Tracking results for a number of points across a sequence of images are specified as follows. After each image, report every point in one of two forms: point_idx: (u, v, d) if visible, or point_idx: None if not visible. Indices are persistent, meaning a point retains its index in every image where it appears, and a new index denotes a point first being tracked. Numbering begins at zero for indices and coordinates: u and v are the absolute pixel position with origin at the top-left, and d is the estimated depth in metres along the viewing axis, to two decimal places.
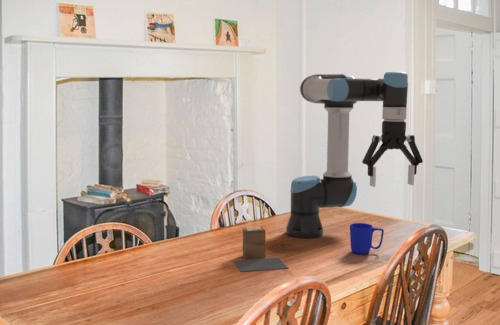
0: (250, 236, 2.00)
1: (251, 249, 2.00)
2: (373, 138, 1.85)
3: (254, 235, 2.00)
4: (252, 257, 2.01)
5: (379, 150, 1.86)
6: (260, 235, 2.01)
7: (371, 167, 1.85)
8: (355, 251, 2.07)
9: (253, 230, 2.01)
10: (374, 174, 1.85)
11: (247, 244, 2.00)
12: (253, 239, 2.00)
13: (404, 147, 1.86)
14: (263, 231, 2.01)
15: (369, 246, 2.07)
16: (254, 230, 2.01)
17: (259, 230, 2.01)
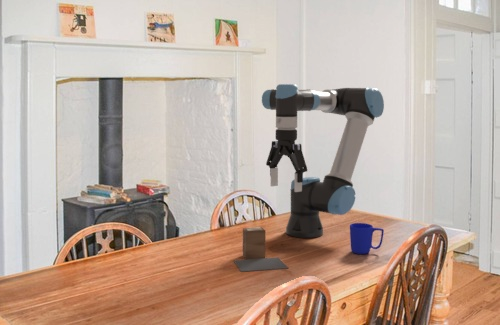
0: (250, 236, 2.00)
1: (251, 249, 2.00)
2: None
3: (254, 235, 2.00)
4: (252, 257, 2.01)
5: None
6: (260, 235, 2.01)
7: (271, 168, 2.08)
8: (355, 251, 2.07)
9: (253, 230, 2.01)
10: (271, 175, 2.08)
11: (247, 244, 2.00)
12: (253, 239, 2.00)
13: (287, 154, 1.98)
14: (263, 231, 2.01)
15: (369, 246, 2.07)
16: (254, 230, 2.01)
17: (259, 230, 2.01)
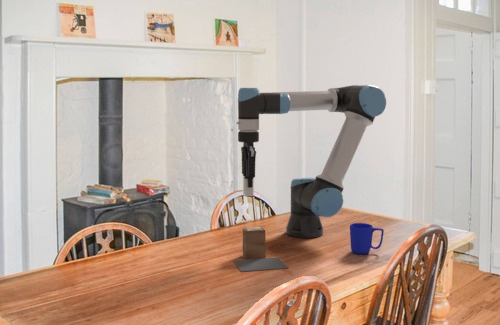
0: (250, 236, 2.00)
1: (251, 249, 2.00)
2: None
3: (254, 235, 2.00)
4: (252, 257, 2.01)
5: None
6: (260, 235, 2.01)
7: (245, 177, 2.11)
8: (355, 251, 2.07)
9: (253, 230, 2.01)
10: (243, 183, 2.11)
11: (247, 244, 2.00)
12: (253, 239, 2.00)
13: (244, 157, 2.06)
14: (263, 231, 2.01)
15: (369, 246, 2.07)
16: (254, 230, 2.01)
17: (259, 230, 2.01)
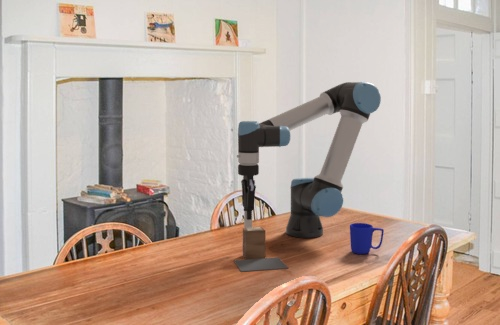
0: (250, 236, 2.00)
1: (251, 249, 2.00)
2: None
3: (254, 235, 2.00)
4: (252, 257, 2.01)
5: None
6: (260, 235, 2.01)
7: None
8: (355, 251, 2.07)
9: (253, 230, 2.01)
10: (244, 216, 2.11)
11: (247, 244, 2.00)
12: (253, 239, 2.00)
13: (244, 190, 2.08)
14: (263, 231, 2.01)
15: (369, 246, 2.07)
16: (254, 230, 2.01)
17: (259, 230, 2.01)
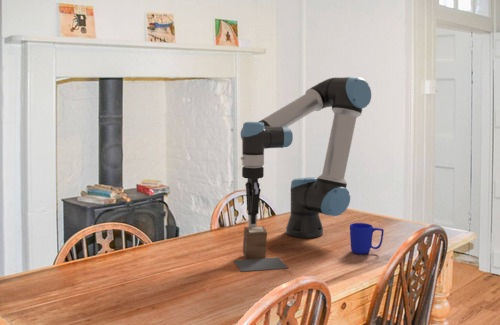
0: (251, 238, 1.98)
1: (251, 250, 2.00)
2: None
3: (255, 237, 1.98)
4: (252, 257, 2.01)
5: None
6: (261, 237, 1.99)
7: None
8: (355, 251, 2.07)
9: (255, 232, 1.98)
10: (248, 221, 2.04)
11: (248, 245, 1.99)
12: (254, 241, 1.99)
13: (248, 193, 2.01)
14: (265, 233, 1.99)
15: (369, 246, 2.07)
16: (256, 232, 1.98)
17: (261, 232, 1.99)
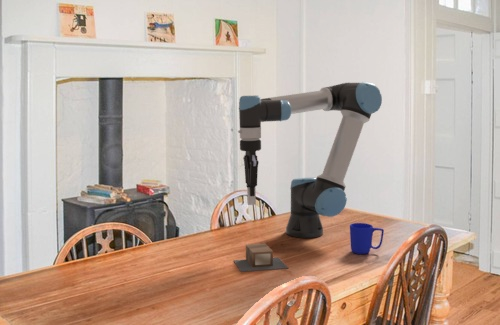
0: None
1: None
2: None
3: None
4: None
5: None
6: None
7: None
8: (355, 251, 2.07)
9: (261, 264, 1.91)
10: (247, 193, 2.07)
11: None
12: None
13: (247, 166, 2.04)
14: None
15: (369, 246, 2.07)
16: (262, 264, 1.92)
17: (267, 264, 1.92)
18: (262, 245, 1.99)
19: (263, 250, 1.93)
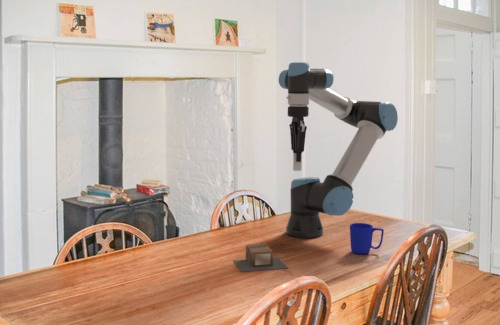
0: None
1: None
2: None
3: None
4: None
5: None
6: None
7: None
8: (355, 251, 2.07)
9: (261, 264, 1.91)
10: (293, 159, 2.10)
11: None
12: None
13: (294, 131, 2.07)
14: None
15: (369, 246, 2.07)
16: (262, 264, 1.92)
17: (267, 264, 1.92)
18: (262, 245, 1.99)
19: (263, 250, 1.93)
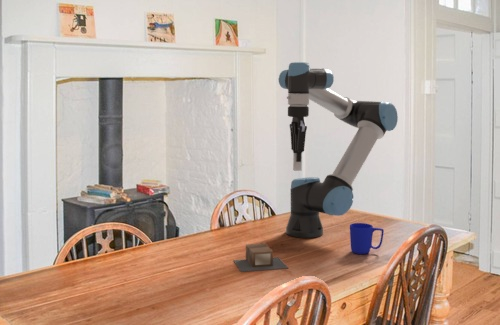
0: None
1: None
2: None
3: None
4: None
5: None
6: None
7: None
8: (355, 251, 2.07)
9: (261, 264, 1.91)
10: (293, 159, 2.10)
11: None
12: None
13: (294, 131, 2.07)
14: None
15: (369, 246, 2.07)
16: (262, 264, 1.92)
17: (267, 264, 1.92)
18: (262, 245, 1.99)
19: (263, 250, 1.93)
